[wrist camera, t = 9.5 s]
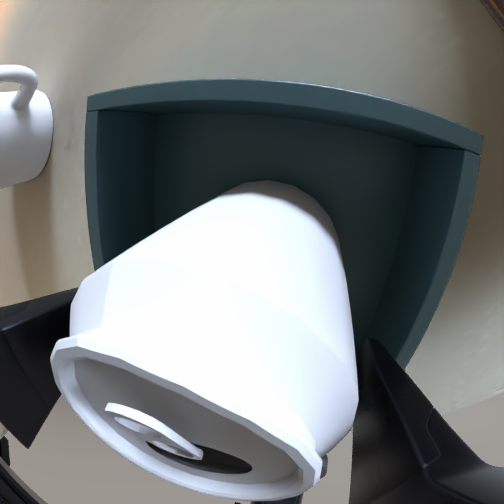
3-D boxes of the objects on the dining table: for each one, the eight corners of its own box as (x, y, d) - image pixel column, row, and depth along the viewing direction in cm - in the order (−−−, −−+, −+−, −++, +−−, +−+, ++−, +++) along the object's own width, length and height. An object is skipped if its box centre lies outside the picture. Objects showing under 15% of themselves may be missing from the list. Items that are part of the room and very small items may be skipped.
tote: (360, 365, 17) (364, 428, 12) (157, 320, 20) (118, 366, 15) (429, 134, 11) (483, 134, 6) (152, 102, 14) (87, 95, 9)
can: (229, 312, 17) (136, 481, 6) (187, 199, 15) (-8, 314, 4) (348, 294, 15) (356, 513, 4) (320, 161, 12) (342, 271, 2)
